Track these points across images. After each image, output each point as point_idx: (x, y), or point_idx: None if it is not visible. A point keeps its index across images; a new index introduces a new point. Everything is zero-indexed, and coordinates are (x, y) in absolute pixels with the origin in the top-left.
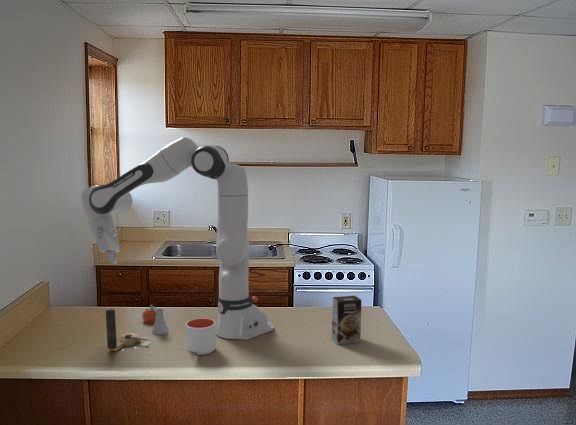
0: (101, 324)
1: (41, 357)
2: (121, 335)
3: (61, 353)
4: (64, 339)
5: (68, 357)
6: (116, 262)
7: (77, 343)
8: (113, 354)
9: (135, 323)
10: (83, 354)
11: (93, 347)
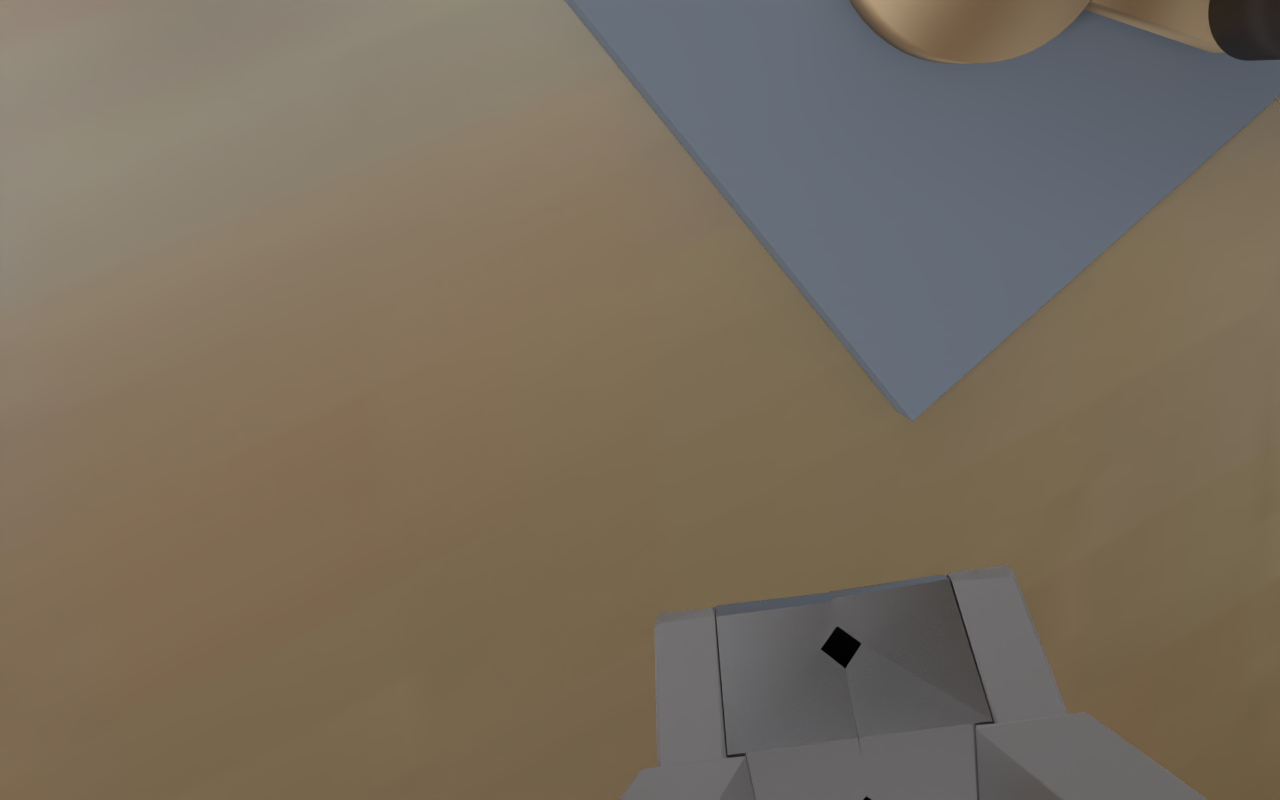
0: (283, 574)
1: (1203, 681)
2: (928, 33)
3: (1125, 558)
4: None
5: (1214, 443)
6: (749, 605)
7: (887, 540)
8: None
9: (167, 132)
10: (1154, 335)
11: None
